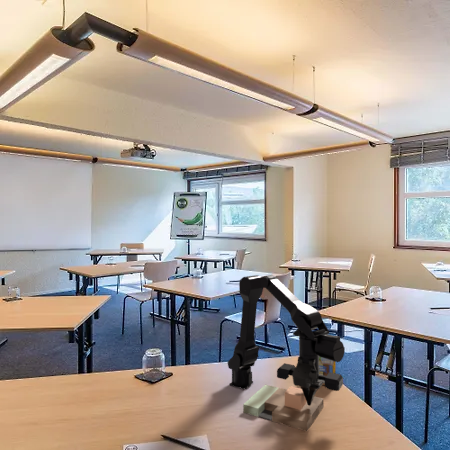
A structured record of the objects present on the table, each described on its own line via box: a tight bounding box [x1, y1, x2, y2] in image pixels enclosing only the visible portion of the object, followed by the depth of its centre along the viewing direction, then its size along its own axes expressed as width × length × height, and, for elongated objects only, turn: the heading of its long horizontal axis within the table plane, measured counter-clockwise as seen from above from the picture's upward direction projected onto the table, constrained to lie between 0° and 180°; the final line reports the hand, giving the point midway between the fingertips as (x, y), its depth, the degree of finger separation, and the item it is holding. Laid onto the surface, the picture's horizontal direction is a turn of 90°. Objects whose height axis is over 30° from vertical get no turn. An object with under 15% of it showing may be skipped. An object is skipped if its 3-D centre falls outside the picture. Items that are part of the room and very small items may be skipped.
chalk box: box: [319, 357, 337, 386], centre depth 133 cm, size 9×9×15 cm
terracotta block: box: [285, 385, 306, 410], centre depth 110 cm, size 5×5×4 cm
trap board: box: [242, 384, 325, 432], centre depth 112 cm, size 20×16×2 cm
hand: (309, 404), depth 108 cm, fingers closed
